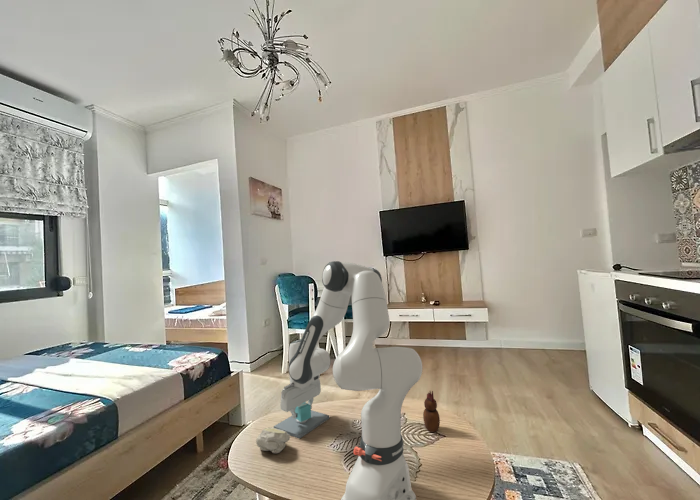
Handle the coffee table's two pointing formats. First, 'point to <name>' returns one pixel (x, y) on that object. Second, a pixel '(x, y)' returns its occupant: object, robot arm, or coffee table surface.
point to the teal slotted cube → (303, 412)
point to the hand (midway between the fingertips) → (302, 413)
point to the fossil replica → (272, 439)
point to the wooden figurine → (431, 414)
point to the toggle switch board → (302, 424)
